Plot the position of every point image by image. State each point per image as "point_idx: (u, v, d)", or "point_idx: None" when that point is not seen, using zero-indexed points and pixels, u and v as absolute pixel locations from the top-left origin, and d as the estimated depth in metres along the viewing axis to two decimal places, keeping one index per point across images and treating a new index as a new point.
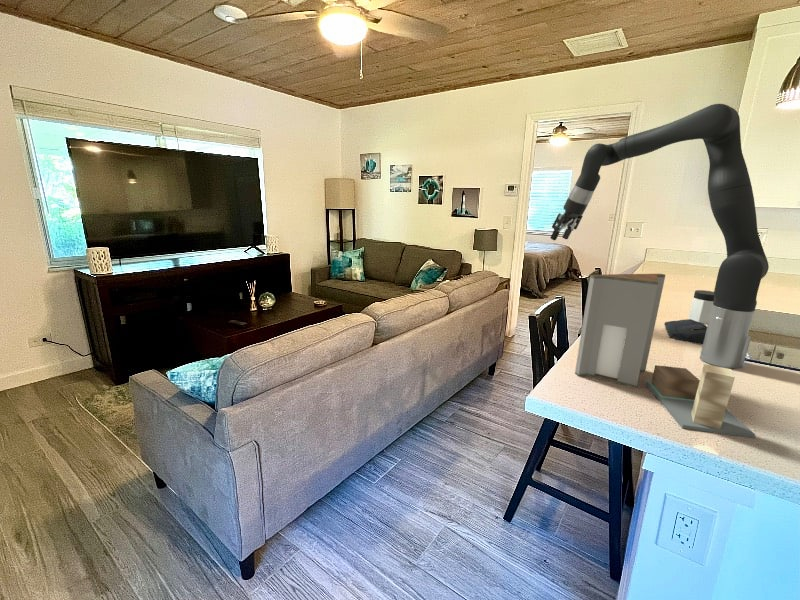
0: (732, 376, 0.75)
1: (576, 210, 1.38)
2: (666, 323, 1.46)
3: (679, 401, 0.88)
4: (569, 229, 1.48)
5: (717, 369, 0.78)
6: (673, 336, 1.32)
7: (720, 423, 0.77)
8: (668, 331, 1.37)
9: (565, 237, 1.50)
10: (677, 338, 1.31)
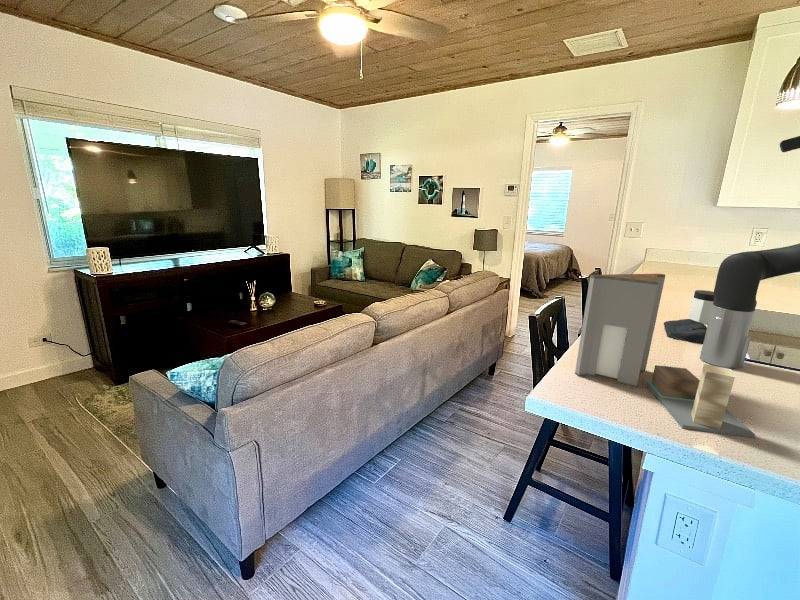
0: (732, 376, 0.75)
1: None
2: (665, 323, 1.47)
3: (679, 401, 0.88)
4: None
5: (717, 369, 0.78)
6: (671, 335, 1.32)
7: (720, 423, 0.77)
8: (666, 330, 1.38)
9: (786, 146, 0.73)
10: (675, 337, 1.31)
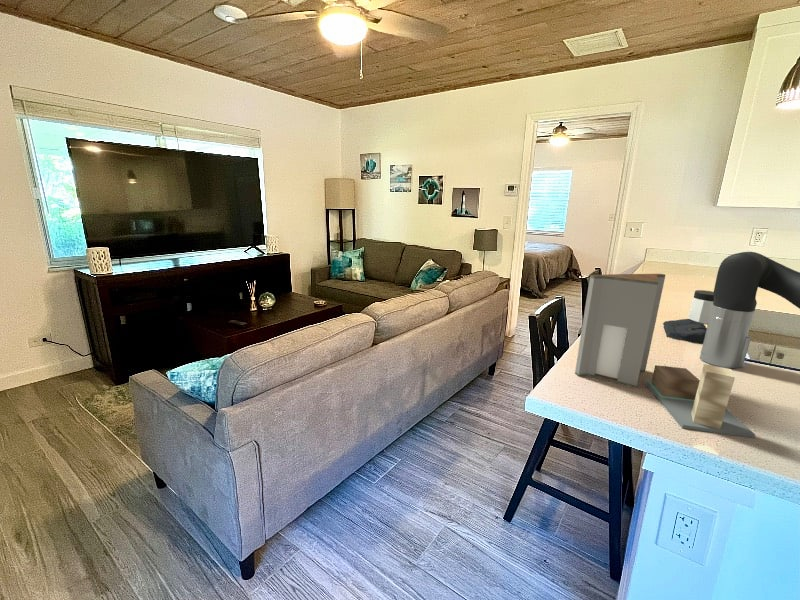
0: (732, 376, 0.75)
1: None
2: (665, 323, 1.47)
3: (679, 401, 0.88)
4: None
5: (717, 369, 0.78)
6: (670, 335, 1.32)
7: (720, 423, 0.77)
8: (666, 330, 1.38)
9: None
10: (674, 337, 1.31)
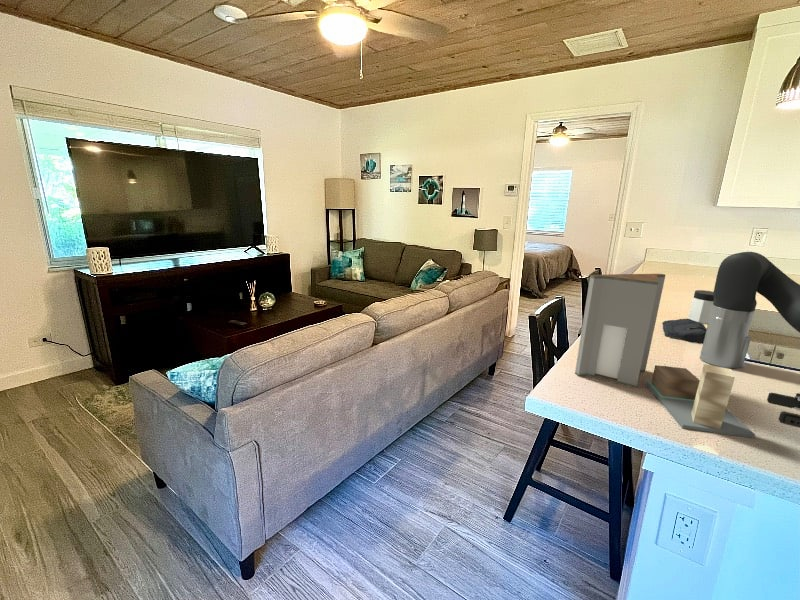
0: (732, 376, 0.75)
1: None
2: (664, 322, 1.47)
3: (679, 401, 0.88)
4: (795, 404, 0.75)
5: (717, 369, 0.78)
6: (668, 335, 1.33)
7: (720, 423, 0.77)
8: (664, 330, 1.38)
9: (772, 400, 0.77)
10: (672, 337, 1.32)
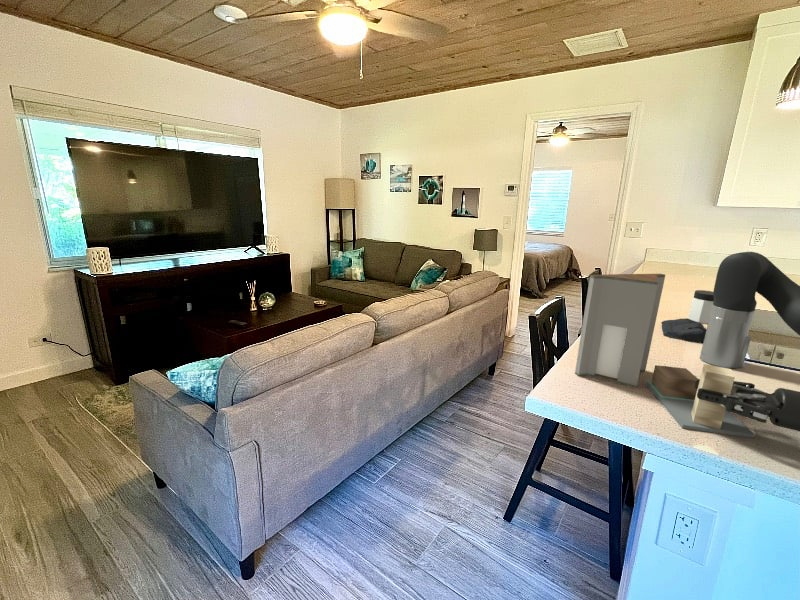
0: (732, 376, 0.75)
1: (785, 426, 0.71)
2: (663, 322, 1.48)
3: (679, 401, 0.88)
4: None
5: (717, 369, 0.78)
6: (667, 334, 1.33)
7: (720, 423, 0.77)
8: (663, 329, 1.39)
9: None
10: (671, 336, 1.32)
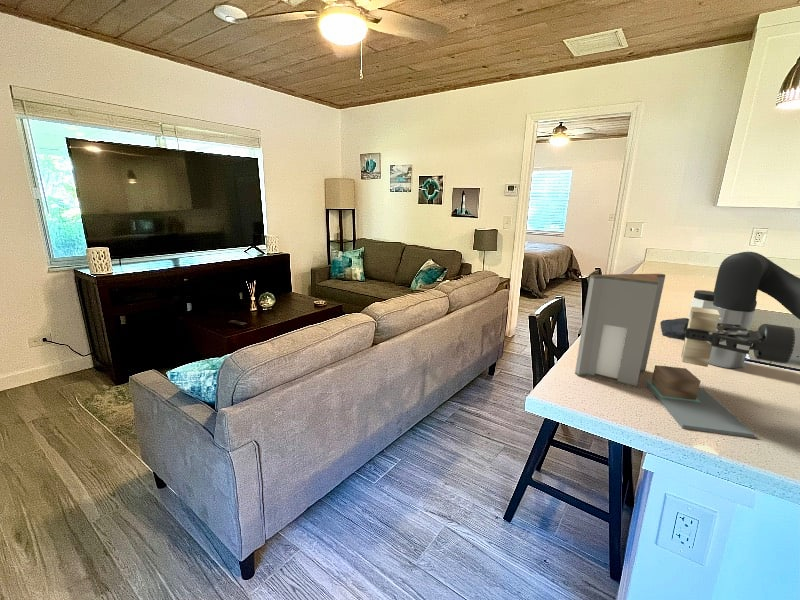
0: (717, 314, 0.79)
1: (768, 358, 0.75)
2: (662, 322, 1.48)
3: (679, 401, 0.88)
4: None
5: (703, 310, 0.82)
6: (666, 334, 1.34)
7: (707, 361, 0.81)
8: (662, 329, 1.39)
9: (687, 328, 0.86)
10: (670, 336, 1.33)
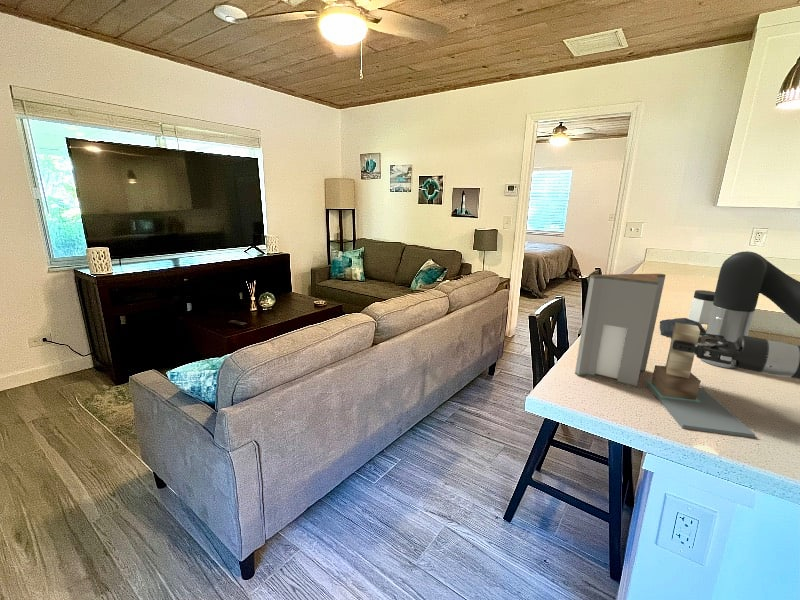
0: (698, 330, 0.86)
1: (745, 367, 0.82)
2: (661, 321, 1.48)
3: (679, 401, 0.88)
4: None
5: (686, 326, 0.89)
6: (664, 333, 1.34)
7: (689, 373, 0.89)
8: (661, 329, 1.40)
9: None
10: (668, 335, 1.33)
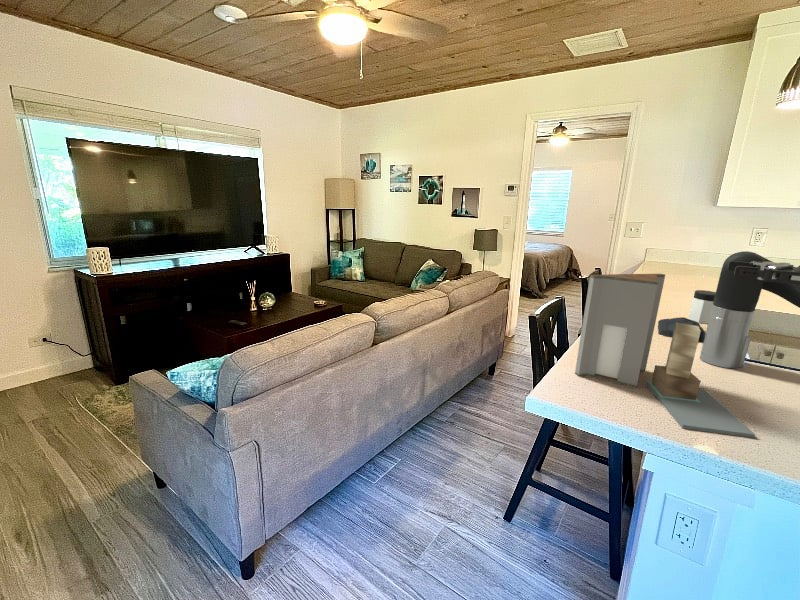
0: (698, 330, 0.86)
1: None
2: (660, 321, 1.49)
3: (679, 401, 0.88)
4: None
5: (686, 326, 0.89)
6: (662, 333, 1.35)
7: (689, 373, 0.89)
8: (659, 328, 1.40)
9: (731, 267, 0.89)
10: (665, 335, 1.34)
